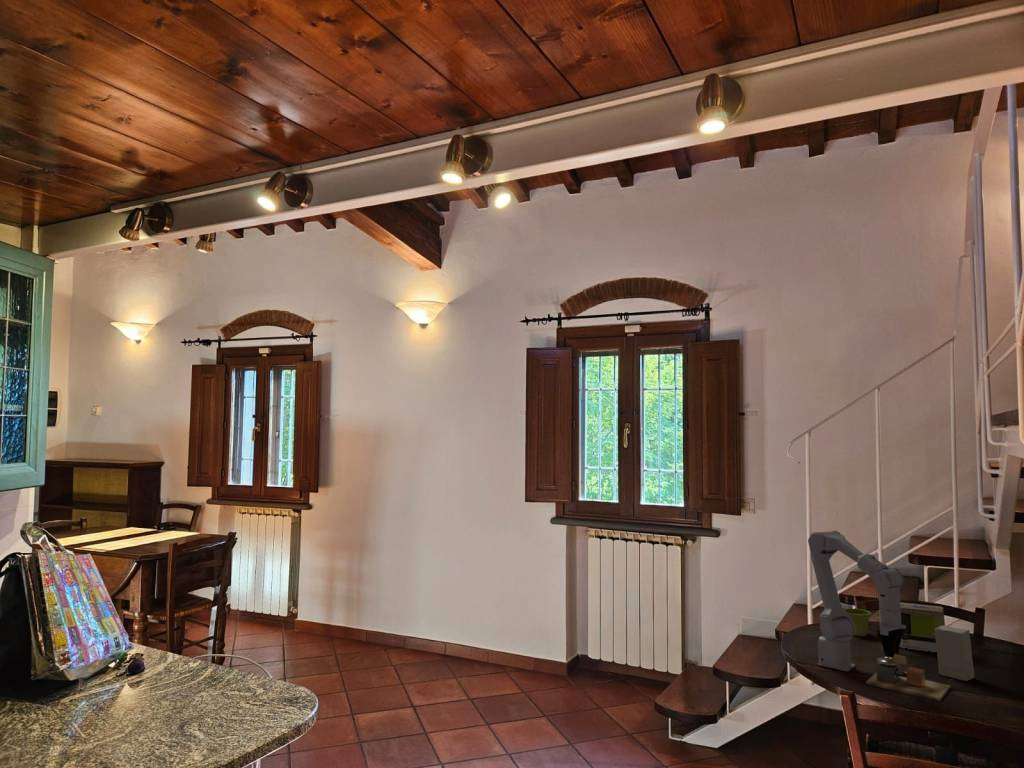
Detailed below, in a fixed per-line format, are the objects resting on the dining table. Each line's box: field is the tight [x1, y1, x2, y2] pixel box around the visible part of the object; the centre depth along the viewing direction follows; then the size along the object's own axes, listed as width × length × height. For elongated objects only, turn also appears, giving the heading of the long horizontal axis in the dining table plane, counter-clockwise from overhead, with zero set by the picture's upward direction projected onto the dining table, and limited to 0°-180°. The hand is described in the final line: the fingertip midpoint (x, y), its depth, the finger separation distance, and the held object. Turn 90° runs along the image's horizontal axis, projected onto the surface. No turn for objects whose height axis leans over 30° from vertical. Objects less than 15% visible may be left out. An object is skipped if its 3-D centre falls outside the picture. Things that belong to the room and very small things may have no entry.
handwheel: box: [876, 653, 907, 666], centre depth 207 cm, size 8×6×3 cm
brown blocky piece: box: [896, 666, 926, 687], centre depth 205 cm, size 12×4×4 cm, turn 46°
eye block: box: [875, 662, 902, 684], centre depth 207 cm, size 5×7×5 cm
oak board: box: [866, 672, 951, 702], centre depth 203 cm, size 20×14×1 cm
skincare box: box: [935, 625, 975, 682], centre depth 212 cm, size 8×6×15 cm
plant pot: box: [843, 608, 872, 637], centre depth 258 cm, size 9×9×9 cm
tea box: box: [900, 602, 946, 653], centre depth 241 cm, size 15×10×15 cm
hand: (891, 654), depth 202 cm, fingers open, 5 cm apart
